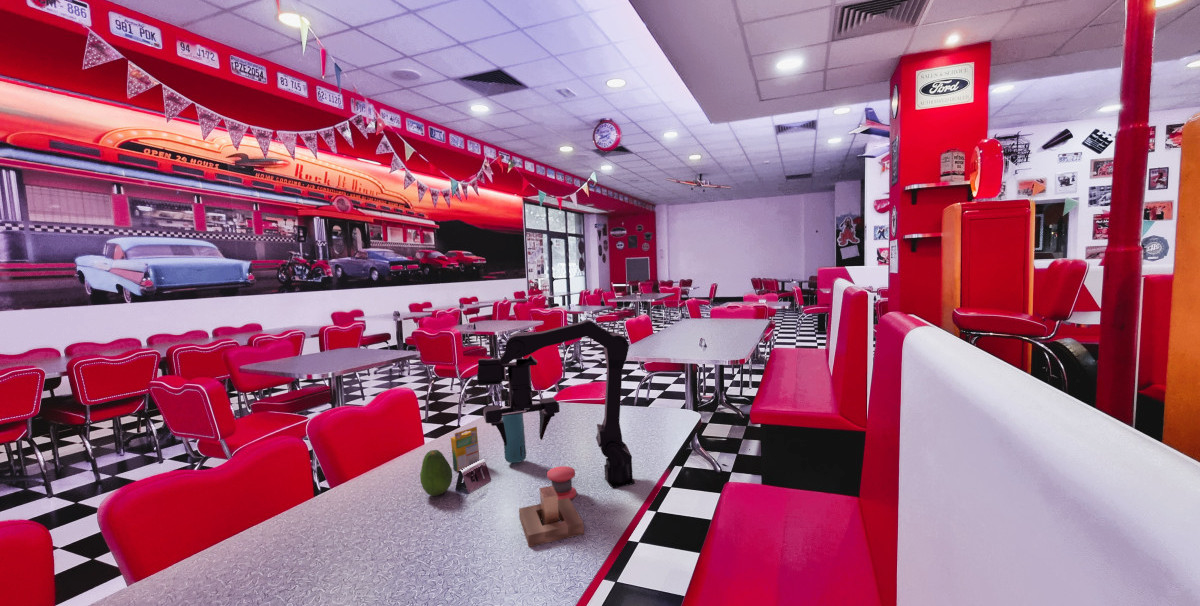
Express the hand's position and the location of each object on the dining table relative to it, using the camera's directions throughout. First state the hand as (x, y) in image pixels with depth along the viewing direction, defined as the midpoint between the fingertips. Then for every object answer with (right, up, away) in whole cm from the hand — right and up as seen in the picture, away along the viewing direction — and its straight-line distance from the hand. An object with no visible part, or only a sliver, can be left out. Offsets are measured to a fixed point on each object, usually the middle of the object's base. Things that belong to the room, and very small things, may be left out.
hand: (523, 442), depth 123 cm
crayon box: (-20, -13, +18) cm, 30 cm away
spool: (+10, -13, -2) cm, 17 cm away
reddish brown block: (+9, -14, -16) cm, 23 cm away
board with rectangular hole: (+9, -14, -16) cm, 23 cm away
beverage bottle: (-5, -12, +19) cm, 23 cm away
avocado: (-23, -14, +2) cm, 27 cm away
